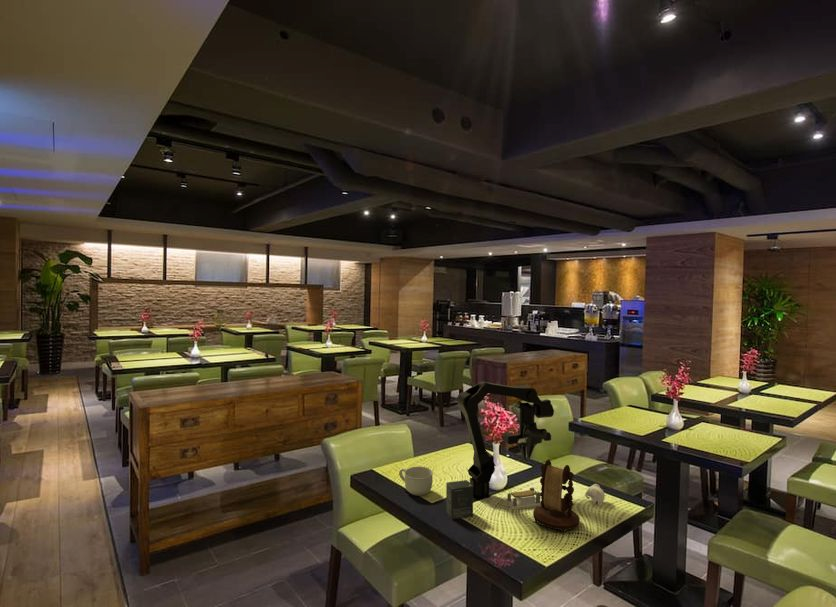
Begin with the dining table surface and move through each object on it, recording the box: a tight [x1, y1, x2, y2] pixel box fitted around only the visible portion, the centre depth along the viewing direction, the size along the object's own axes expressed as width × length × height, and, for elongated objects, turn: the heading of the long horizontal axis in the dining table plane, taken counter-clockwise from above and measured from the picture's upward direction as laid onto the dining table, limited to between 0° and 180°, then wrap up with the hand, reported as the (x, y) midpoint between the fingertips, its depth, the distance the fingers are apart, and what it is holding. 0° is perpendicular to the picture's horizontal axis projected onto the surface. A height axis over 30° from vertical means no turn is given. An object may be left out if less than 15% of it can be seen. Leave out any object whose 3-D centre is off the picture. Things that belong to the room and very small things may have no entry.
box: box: [445, 479, 474, 521], centre depth 153 cm, size 8×6×11 cm
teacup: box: [398, 465, 434, 497], centre depth 171 cm, size 14×11×8 cm
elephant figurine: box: [584, 483, 607, 506], centre depth 164 cm, size 7×8×6 cm
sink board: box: [504, 487, 541, 511], centre depth 162 cm, size 12×7×4 cm, turn 108°
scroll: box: [532, 459, 581, 534], centre depth 149 cm, size 15×15×20 cm
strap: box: [510, 489, 537, 498], centre depth 162 cm, size 10×3×1 cm, turn 108°
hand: (526, 458), depth 174 cm, fingers closed
